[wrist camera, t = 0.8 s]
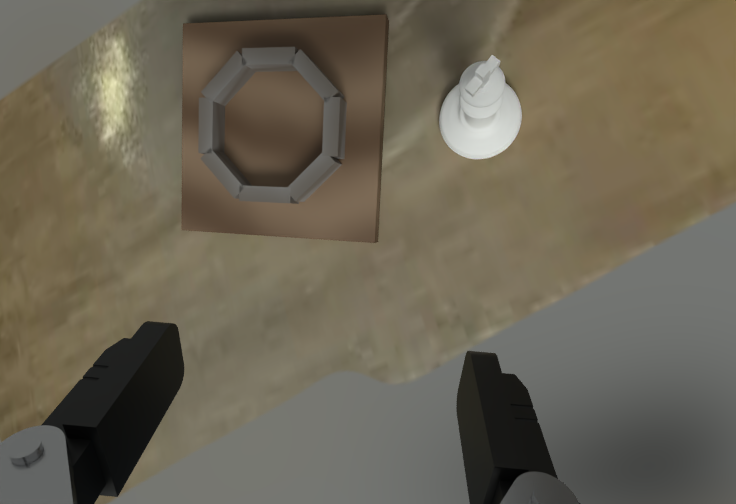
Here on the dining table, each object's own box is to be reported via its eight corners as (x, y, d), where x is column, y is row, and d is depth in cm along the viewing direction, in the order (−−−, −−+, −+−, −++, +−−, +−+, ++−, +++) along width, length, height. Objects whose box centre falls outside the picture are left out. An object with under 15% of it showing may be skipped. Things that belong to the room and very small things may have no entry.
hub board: (191, 29, 32) (168, 14, 30) (388, 20, 29) (381, 3, 26) (190, 229, 33) (167, 231, 31) (377, 241, 30) (369, 244, 28)
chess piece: (539, 111, 27) (575, 56, 18) (483, 175, 28) (488, 157, 19) (475, 60, 28) (476, -19, 18) (423, 125, 29) (397, 83, 19)
